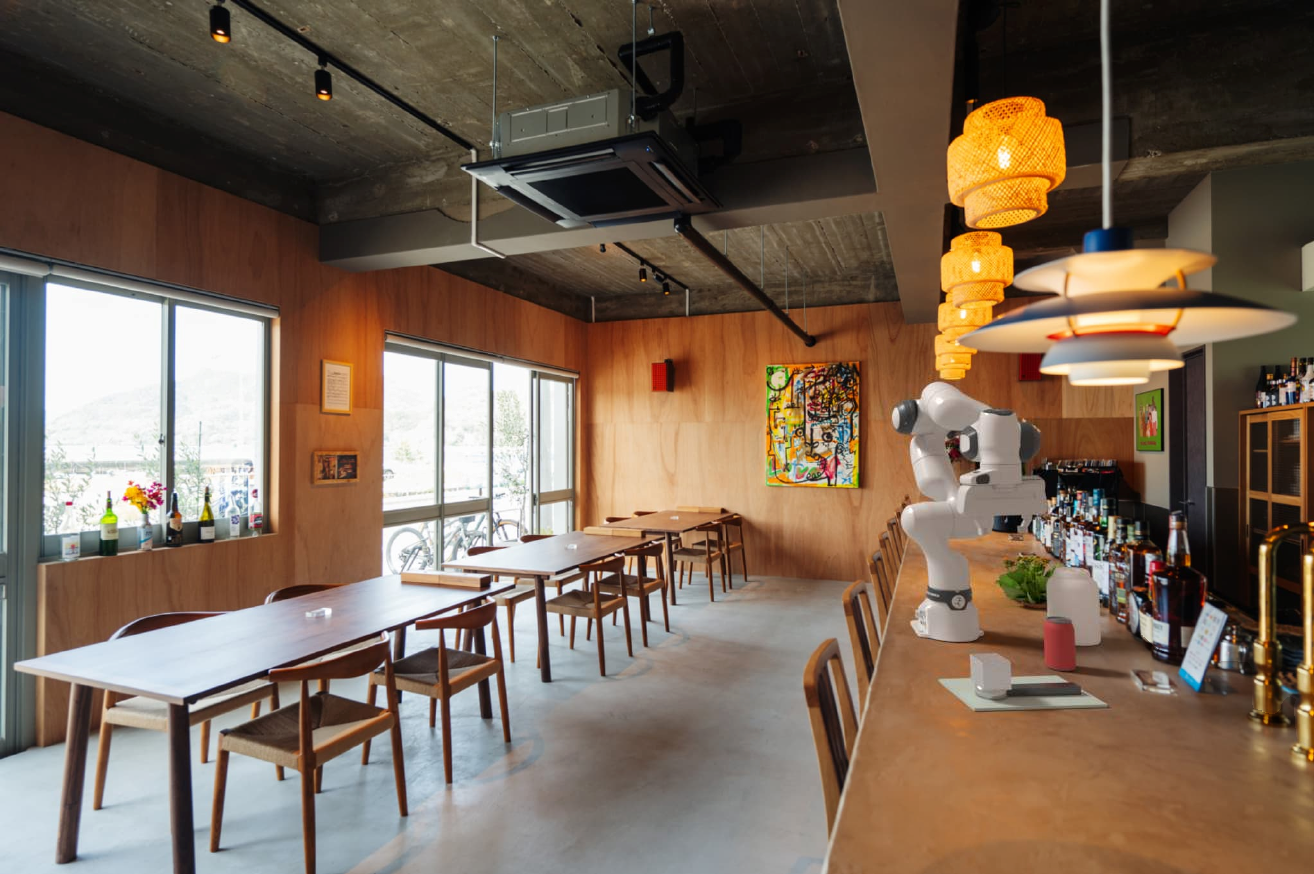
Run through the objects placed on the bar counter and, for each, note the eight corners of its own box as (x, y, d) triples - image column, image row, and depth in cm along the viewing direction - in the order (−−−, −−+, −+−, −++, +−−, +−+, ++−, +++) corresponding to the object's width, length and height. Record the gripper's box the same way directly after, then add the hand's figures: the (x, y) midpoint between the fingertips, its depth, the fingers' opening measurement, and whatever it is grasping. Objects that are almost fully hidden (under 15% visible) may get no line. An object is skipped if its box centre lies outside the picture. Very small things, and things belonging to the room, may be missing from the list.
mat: (938, 681, 160) (938, 679, 160) (1057, 678, 160) (1056, 675, 160) (974, 711, 142) (974, 708, 142) (1107, 707, 142) (1107, 704, 142)
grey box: (970, 680, 152) (969, 654, 152) (997, 680, 152) (996, 653, 152) (983, 690, 146) (982, 662, 146) (1011, 689, 146) (1010, 661, 146)
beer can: (1080, 672, 163) (1078, 622, 164) (1050, 671, 165) (1048, 622, 165) (1069, 664, 170) (1068, 616, 170) (1041, 663, 171) (1039, 615, 171)
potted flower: (1072, 599, 237) (1070, 549, 237) (1093, 616, 214) (1090, 560, 215) (993, 596, 244) (991, 548, 245) (1005, 612, 222) (1003, 558, 222)
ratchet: (969, 690, 153) (969, 667, 153) (1068, 687, 153) (1067, 664, 153) (983, 701, 146) (982, 676, 146) (1086, 697, 146) (1085, 673, 146)
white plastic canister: (1098, 637, 192) (1095, 566, 192) (1103, 649, 181) (1100, 574, 181) (1047, 632, 198) (1044, 563, 198) (1049, 644, 187) (1046, 571, 187)
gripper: (1036, 474, 165) (1038, 531, 165) (952, 476, 165) (954, 533, 165) (1051, 475, 159) (1054, 534, 159) (964, 478, 159) (966, 537, 159)
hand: (1002, 534), depth 162 cm, fingers open, 8 cm apart
